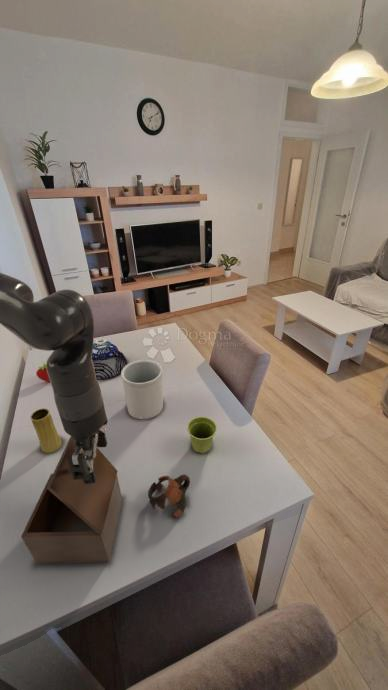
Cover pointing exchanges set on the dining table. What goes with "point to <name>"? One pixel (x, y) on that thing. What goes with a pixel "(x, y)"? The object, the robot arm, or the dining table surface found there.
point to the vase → (46, 430)
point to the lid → (85, 488)
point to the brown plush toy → (170, 493)
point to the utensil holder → (143, 388)
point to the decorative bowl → (107, 354)
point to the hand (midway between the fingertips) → (96, 462)
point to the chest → (69, 531)
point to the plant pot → (201, 433)
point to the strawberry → (43, 373)
